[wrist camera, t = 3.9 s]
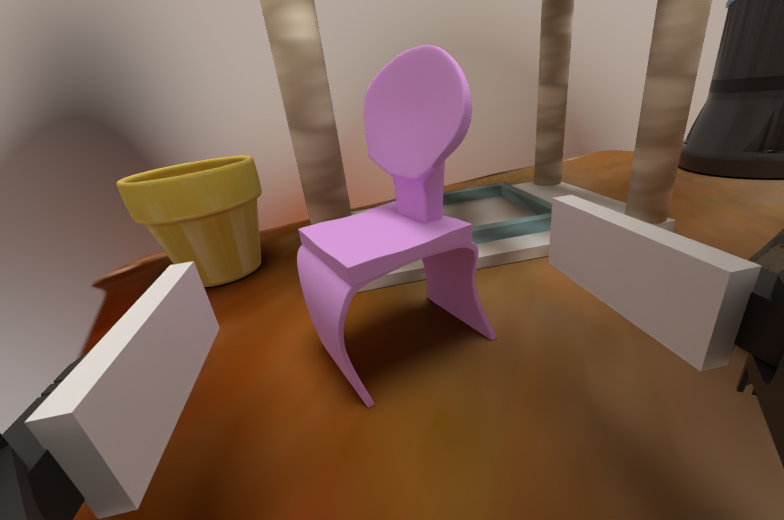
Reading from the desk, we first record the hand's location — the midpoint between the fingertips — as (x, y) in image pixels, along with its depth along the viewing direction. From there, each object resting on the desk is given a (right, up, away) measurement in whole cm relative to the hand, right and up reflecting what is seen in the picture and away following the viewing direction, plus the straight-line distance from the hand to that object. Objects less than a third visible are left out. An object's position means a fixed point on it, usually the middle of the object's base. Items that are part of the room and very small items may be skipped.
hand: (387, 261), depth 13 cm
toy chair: (+1, -5, +8) cm, 9 cm away
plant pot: (-16, -1, +21) cm, 26 cm away
